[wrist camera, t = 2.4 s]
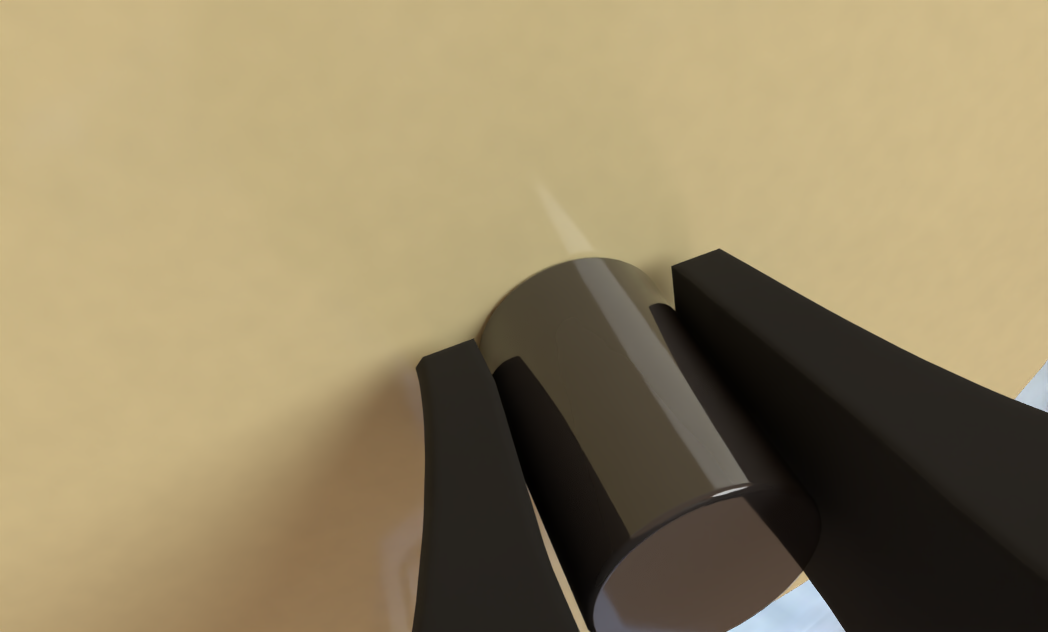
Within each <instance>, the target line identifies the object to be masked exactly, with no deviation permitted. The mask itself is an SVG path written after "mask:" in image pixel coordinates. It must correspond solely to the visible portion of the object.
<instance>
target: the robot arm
mask: <svg viewBox="0 0 1048 632" xmlns="http://www.w3.org/2000/svg"><path fill="white" fill-rule="evenodd" d="M671 270H672V280H673V291H674V302H675V311H676V313H677V314H678V315H679V317H680V318H681V319H682V321H683V322H684V323H685V325H686V326H687V328H688V329H689V330H690V332H691V333H692V334H693V336H694V337H695V338H696V340H697V341H698V342H699V344H700V345H701V347H702V348H703V349H704V351H705V352H706V353H707V355H708V356H709V357H710V359H711V360H712V361H713V363H714V364H715V365H716V367H717V368H718V370H719V371H720V372H721V374H722V375H723V376H724V378H725V379H726V380H727V382H728V383H729V384H730V386H731V387H732V389H733V390H734V391H735V393H736V394H737V395H738V397H739V398H740V399H741V401H742V402H743V403H744V405H745V406H746V407H747V409H748V410H749V412H750V413H751V414H752V416H753V417H754V418H755V420H756V421H757V422H758V424H759V425H760V426H761V428H762V429H763V431H764V432H765V433H766V435H767V436H768V437H769V439H770V440H771V441H772V443H773V444H774V445H775V447H776V448H777V450H778V451H779V452H780V454H781V455H782V456H783V458H784V459H785V460H786V462H787V463H788V464H789V466H790V467H791V468H792V470H793V471H794V473H795V474H796V475H797V477H798V478H799V479H800V481H801V482H802V483H803V485H804V486H805V487H806V489H807V490H808V492H809V493H810V494H811V496H812V497H813V498H814V500H815V502H816V503H817V505H818V508H819V512H820V516H821V522H822V531H821V536H820V540H819V543H818V546H817V549H816V551H815V553H814V555H813V557H812V559H811V560H810V562H809V563H808V565H807V566H806V568H805V569H804V573H805V574H806V576H807V577H808V578H809V580H810V581H811V582H812V584H813V585H814V587H815V588H816V589H817V591H818V592H819V593H820V595H821V596H822V598H823V599H824V600H825V602H826V603H827V604H828V606H829V607H830V609H831V610H832V612H833V613H834V615H835V616H836V618H837V619H838V621H839V622H840V624H841V625H842V627H843V628H844V630H845V631H846V632H1048V413H1047V412H1045V411H1042V410H1039V409H1037V408H1034V407H1032V406H1029V405H1026V404H1024V403H1021V402H1019V401H1016V400H1014V399H1012V398H1009V397H1007V396H1004V395H1002V394H1000V393H997V392H995V391H992V390H990V389H988V388H985V387H983V386H981V385H979V384H977V383H974V382H972V381H970V380H968V379H966V378H963V377H961V376H959V375H957V374H955V373H953V372H950V371H948V370H946V369H944V368H942V367H939V366H937V365H935V364H933V363H931V362H929V361H926V360H924V359H922V358H920V357H918V356H916V355H914V354H912V353H910V352H908V351H906V350H904V349H902V348H900V347H898V346H896V345H894V344H892V343H890V342H888V341H886V340H885V339H883V338H881V337H879V336H877V335H875V334H873V333H871V332H869V331H867V330H865V329H863V328H862V327H860V326H858V325H856V324H854V323H852V322H850V321H848V320H846V319H844V318H843V317H841V316H839V315H837V314H835V313H833V312H832V311H830V310H828V309H826V308H824V307H822V306H821V305H819V304H817V303H815V302H813V301H812V300H810V299H808V298H806V297H805V296H803V295H801V294H799V293H797V292H796V291H794V290H792V289H790V288H789V287H787V286H785V285H783V284H782V283H780V282H778V281H776V280H775V279H773V278H771V277H769V276H768V275H766V274H764V273H762V272H761V271H759V270H757V269H755V268H754V267H752V266H750V265H748V264H747V263H745V262H743V261H741V260H739V259H738V258H736V257H734V256H732V255H731V254H729V253H727V252H725V251H723V250H722V249H720V248H719V249H716V250H714V251H711V252H708V253H705V254H703V255H700V256H697V257H694V258H692V259H689V260H686V261H684V262H681V263H678V264H675V265H673V266H671ZM416 372H417V376H418V380H419V385H420V392H421V399H422V408H423V420H424V443H425V478H424V515H423V532H422V543H421V553H420V564H419V574H418V585H417V596H416V605H415V612H414V620H413V627H412V632H580V631H579V628H578V626H577V624H576V621H575V619H574V617H573V615H572V612H571V610H570V608H569V605H568V603H567V601H566V598H565V596H564V594H563V591H562V589H561V587H560V584H559V582H558V580H557V577H556V575H555V573H554V570H553V568H552V565H551V562H550V559H549V556H548V554H547V551H546V548H545V545H544V542H543V538H542V535H541V532H540V528H539V525H538V522H537V518H536V515H535V512H534V509H533V505H532V502H531V499H530V495H529V492H528V489H527V485H526V482H525V479H524V476H523V472H522V469H521V466H520V462H519V459H518V456H517V452H516V449H515V446H514V442H513V439H512V436H511V432H510V429H509V426H508V422H507V419H506V416H505V412H504V409H503V406H502V402H501V399H500V396H499V392H498V389H497V386H496V383H495V380H494V378H493V376H492V374H491V372H490V370H489V368H488V366H487V364H486V362H485V359H484V357H483V355H482V354H481V352H480V350H479V348H478V346H477V344H476V342H475V340H474V338H473V339H471V340H468V341H465V342H462V343H460V344H457V345H454V346H452V347H449V348H446V349H443V350H441V351H438V352H435V353H432V354H430V355H427V356H424V357H422V359H421V360H420V362H419V363H418V365H417V366H416Z"/></svg>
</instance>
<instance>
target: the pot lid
mask: <svg viewBox="0 0 1048 632" xmlns="http://www.w3.org/2000/svg"><path fill="white" fill-rule="evenodd" d="M719 248H720V249H722V250H723V251H725V252H727V253H729V254H731V255H732V256H734V257H736V258H738V259H739V260H741V261H743V262H745V263H747V264H748V265H750V266H752V267H754V268H755V269H757V270H759V271H761V272H762V273H764V274H766V275H768V276H769V277H771V278H773V279H775V280H776V281H778V282H780V283H782V284H783V285H785V286H787V287H789V288H790V289H792V290H794V291H796V292H797V293H799V294H801V295H803V296H805V297H806V298H808V299H810V300H812V301H813V302H815V303H817V304H819V305H821V306H822V307H824V308H826V309H828V310H830V311H832V312H833V313H835V314H837V315H839V316H841V317H843V318H844V319H846V320H848V321H850V322H852V323H854V324H856V325H858V326H860V327H862V328H863V329H865V330H867V331H869V332H871V333H873V334H875V335H877V336H879V337H881V338H883V339H885V340H886V341H888V342H890V343H892V344H894V345H896V346H898V347H900V348H902V349H904V350H906V351H908V352H910V353H912V354H914V355H916V356H918V357H920V358H922V359H924V360H926V361H929V362H931V363H933V364H935V365H937V366H939V367H942V368H944V369H946V370H948V371H950V372H953V373H955V374H957V375H959V376H961V377H963V378H966V379H968V380H970V381H972V382H974V383H977V384H979V385H981V386H983V387H985V388H988V389H990V390H992V391H995V392H997V393H1000V394H1002V395H1004V396H1007V397H1009V398H1012V399H1015V398H1016V397H1017V396H1018V395H1019V393H1020V392H1021V391H1022V390H1023V389H1024V388H1025V386H1026V385H1027V384H1028V383H1029V382H1030V381H1031V379H1032V378H1033V377H1034V376H1035V375H1036V374H1037V372H1038V371H1039V370H1040V369H1041V368H1042V367H1043V365H1044V364H1045V363H1046V361H1047V360H1048V0H0V632H412V627H413V620H414V612H415V605H416V596H417V585H418V574H419V564H420V553H421V543H422V532H423V515H424V478H425V443H424V420H423V408H422V399H421V392H420V385H419V380H418V376H417V372H416V366H417V365H418V363H419V362H420V360H421V359H422V357H424V356H427V355H430V354H432V353H435V352H438V351H441V350H443V349H446V348H449V347H452V346H454V345H457V344H460V343H462V342H465V341H468V340H471V339H473V338H474V340H475V342H476V344H477V346H478V348H479V350H480V352H481V354H482V355H483V357H484V359H485V362H486V364H487V366H488V368H489V370H490V372H491V374H492V376H493V378H494V380H495V383H496V386H497V389H498V392H499V396H500V399H501V402H502V406H503V409H504V412H505V416H506V419H507V422H508V426H509V429H510V432H511V436H512V439H513V442H514V446H515V449H516V452H517V456H518V459H519V462H520V466H521V469H522V472H523V476H524V479H525V482H526V485H527V489H528V492H529V495H530V499H531V502H532V505H533V509H534V512H535V515H536V518H537V522H538V525H539V528H540V532H541V535H542V538H543V542H544V545H545V548H546V551H547V554H548V556H549V559H550V562H551V565H552V568H553V570H554V573H555V575H556V577H557V580H558V582H559V584H560V587H561V589H562V591H563V594H564V596H565V598H566V601H567V603H568V605H569V608H570V610H571V612H572V615H573V617H574V619H575V621H576V624H577V626H578V628H579V631H580V632H727V631H729V630H731V629H732V628H734V627H736V626H738V625H740V624H741V623H743V622H745V621H746V620H748V619H750V618H751V617H753V616H754V615H756V614H757V613H759V612H760V611H762V610H763V609H764V608H766V607H767V606H768V605H769V604H771V603H772V602H774V601H775V600H777V599H779V598H780V597H782V596H784V595H785V594H787V593H788V592H790V591H792V590H793V589H795V588H797V587H798V586H800V585H802V584H803V583H805V582H806V581H807V580H809V578H808V577H807V576H806V574H805V573H804V569H805V568H806V566H807V565H808V563H809V562H810V560H811V559H812V557H813V555H814V553H815V551H816V549H817V546H818V543H819V540H820V536H821V531H822V522H821V516H820V512H819V508H818V505H817V503H816V502H815V500H814V498H813V497H812V496H811V494H810V493H809V492H808V490H807V489H806V487H805V486H804V485H803V483H802V482H801V481H800V479H799V478H798V477H797V475H796V474H795V473H794V471H793V470H792V468H791V467H790V466H789V464H788V463H787V462H786V460H785V459H784V458H783V456H782V455H781V454H780V452H779V451H778V450H777V448H776V447H775V445H774V444H773V443H772V441H771V440H770V439H769V437H768V436H767V435H766V433H765V432H764V431H763V429H762V428H761V426H760V425H759V424H758V422H757V421H756V420H755V418H754V417H753V416H752V414H751V413H750V412H749V410H748V409H747V407H746V406H745V405H744V403H743V402H742V401H741V399H740V398H739V397H738V395H737V394H736V393H735V391H734V390H733V389H732V387H731V386H730V384H729V383H728V382H727V380H726V379H725V378H724V376H723V375H722V374H721V372H720V371H719V370H718V368H717V367H716V365H715V364H714V363H713V361H712V360H711V359H710V357H709V356H708V355H707V353H706V352H705V351H704V349H703V348H702V347H701V345H700V344H699V342H698V341H697V340H696V338H695V337H694V336H693V334H692V333H691V332H690V330H689V329H688V328H687V326H686V325H685V323H684V322H683V321H682V319H681V318H680V317H679V315H678V314H677V313H676V311H675V302H674V291H673V280H672V270H671V266H673V265H675V264H678V263H681V262H684V261H686V260H689V259H692V258H694V257H697V256H700V255H703V254H705V253H708V252H711V251H714V250H716V249H719Z"/></svg>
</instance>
